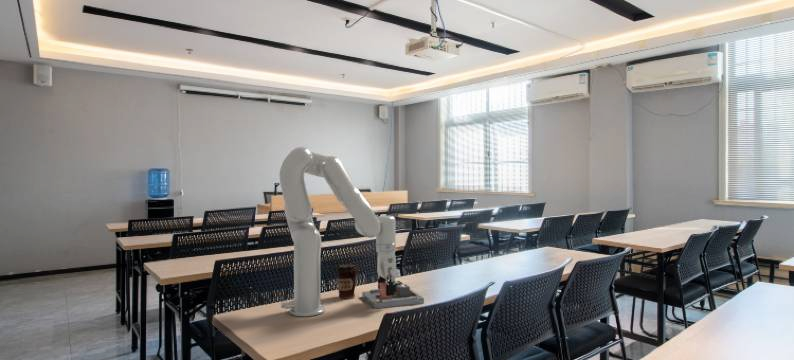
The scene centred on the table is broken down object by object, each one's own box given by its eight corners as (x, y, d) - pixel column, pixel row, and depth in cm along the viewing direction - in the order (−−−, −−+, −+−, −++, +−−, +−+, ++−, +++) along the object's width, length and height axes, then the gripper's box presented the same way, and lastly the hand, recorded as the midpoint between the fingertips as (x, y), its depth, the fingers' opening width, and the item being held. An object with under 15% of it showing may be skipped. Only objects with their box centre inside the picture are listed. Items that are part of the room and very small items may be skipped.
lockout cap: (381, 301, 170) (381, 285, 170) (377, 297, 175) (377, 282, 174) (394, 299, 171) (394, 284, 171) (390, 296, 176) (390, 281, 176)
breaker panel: (374, 308, 167) (374, 292, 167) (362, 296, 183) (362, 281, 183) (423, 303, 174) (423, 287, 173) (407, 292, 190) (407, 277, 189)
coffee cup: (353, 301, 177) (353, 268, 177) (333, 299, 179) (333, 267, 178) (359, 295, 185) (359, 263, 185) (340, 293, 187) (340, 263, 187)
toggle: (400, 297, 173) (399, 287, 173) (396, 295, 177) (396, 284, 176) (409, 296, 174) (409, 286, 174) (405, 294, 178) (405, 284, 178)
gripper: (403, 250, 166) (403, 296, 166) (387, 243, 182) (387, 285, 182) (383, 252, 163) (383, 298, 163) (370, 245, 179) (370, 287, 180)
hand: (386, 291), depth 173 cm, fingers open, 9 cm apart
